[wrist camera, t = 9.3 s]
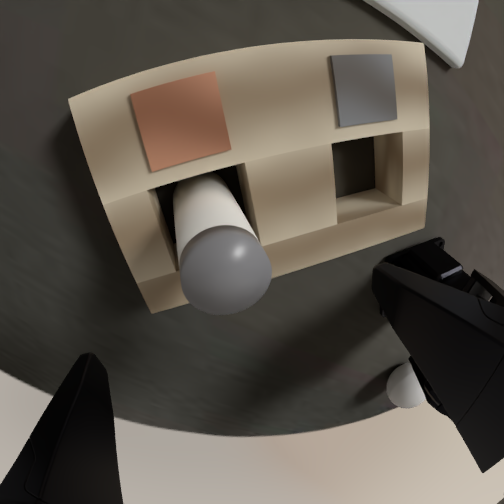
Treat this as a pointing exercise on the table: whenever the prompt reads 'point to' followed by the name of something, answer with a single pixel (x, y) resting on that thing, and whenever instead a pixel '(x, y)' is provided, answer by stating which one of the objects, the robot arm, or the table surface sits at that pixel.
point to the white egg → (404, 387)
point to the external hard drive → (435, 24)
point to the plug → (217, 248)
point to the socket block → (262, 148)
